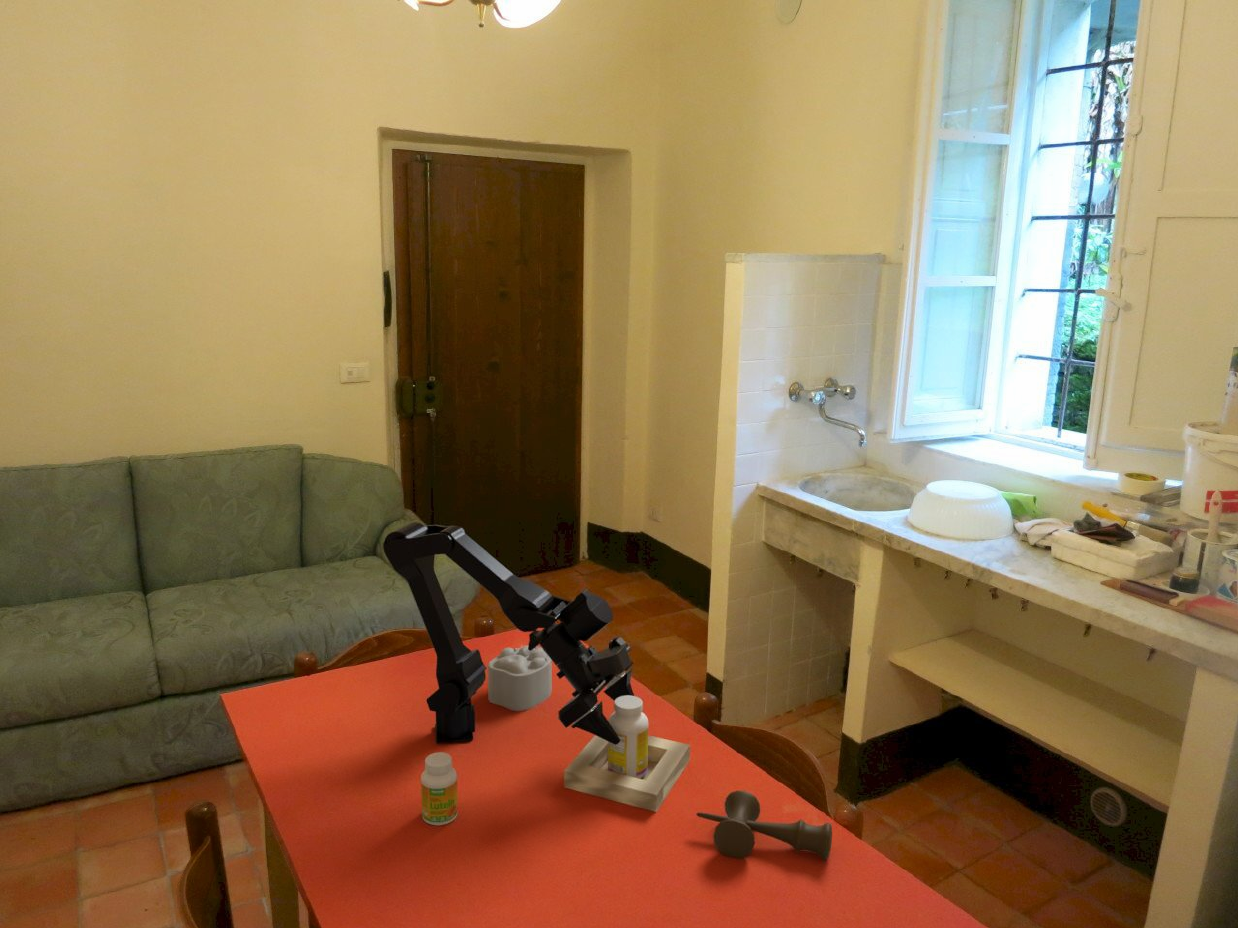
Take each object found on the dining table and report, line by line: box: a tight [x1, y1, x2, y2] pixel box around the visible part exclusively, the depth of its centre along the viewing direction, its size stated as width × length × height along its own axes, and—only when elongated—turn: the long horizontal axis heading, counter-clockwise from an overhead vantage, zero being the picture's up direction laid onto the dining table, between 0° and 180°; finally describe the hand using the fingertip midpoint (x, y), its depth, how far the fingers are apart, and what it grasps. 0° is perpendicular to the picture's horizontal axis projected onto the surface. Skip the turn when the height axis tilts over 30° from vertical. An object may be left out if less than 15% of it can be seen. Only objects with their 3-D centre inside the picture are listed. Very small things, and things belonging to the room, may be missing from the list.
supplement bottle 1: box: [420, 752, 459, 826], centre depth 142 cm, size 5×5×10 cm
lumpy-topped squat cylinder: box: [487, 644, 553, 712], centre depth 180 cm, size 10×13×9 cm
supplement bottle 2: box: [607, 695, 649, 779], centre depth 153 cm, size 7×7×13 cm
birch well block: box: [563, 734, 691, 813], centre depth 154 cm, size 16×16×3 cm
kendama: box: [695, 790, 833, 861], centre depth 137 cm, size 6×10×20 cm
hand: (629, 729), depth 153 cm, fingers open, 9 cm apart
